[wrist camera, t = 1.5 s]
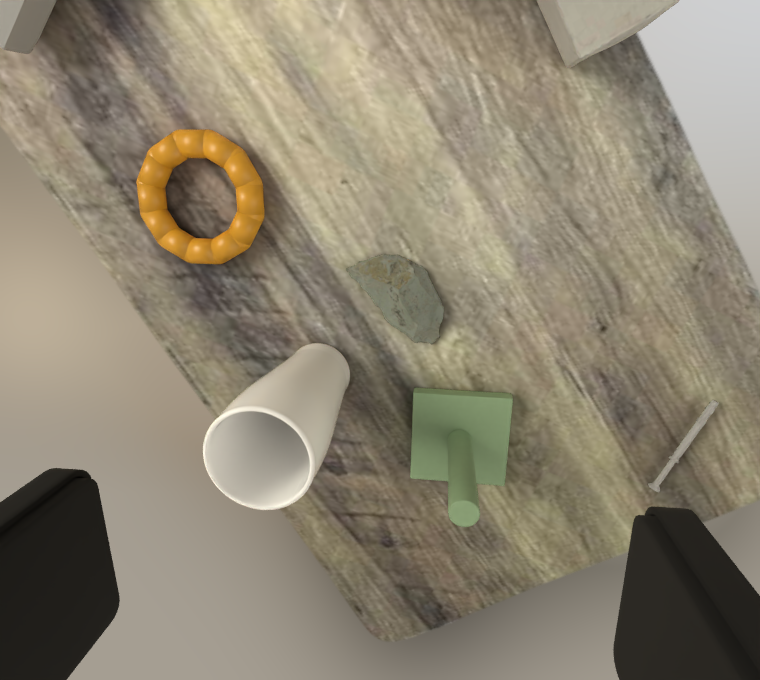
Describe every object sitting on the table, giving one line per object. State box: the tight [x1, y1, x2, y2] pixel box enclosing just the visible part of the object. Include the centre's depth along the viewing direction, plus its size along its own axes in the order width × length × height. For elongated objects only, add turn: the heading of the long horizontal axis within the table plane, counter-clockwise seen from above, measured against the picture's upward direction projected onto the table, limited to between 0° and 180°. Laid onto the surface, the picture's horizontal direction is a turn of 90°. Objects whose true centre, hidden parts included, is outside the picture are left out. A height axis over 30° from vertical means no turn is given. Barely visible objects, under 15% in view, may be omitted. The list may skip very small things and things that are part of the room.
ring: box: [137, 130, 264, 264], centre depth 38 cm, size 10×10×2 cm
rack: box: [410, 388, 513, 527], centre depth 37 cm, size 8×8×11 cm
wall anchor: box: [648, 400, 719, 492], centre depth 39 cm, size 1×9×1 cm, turn 157°
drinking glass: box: [203, 343, 350, 510], centre depth 35 cm, size 7×7×15 cm
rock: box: [346, 254, 444, 344], centre depth 39 cm, size 9×2×5 cm
